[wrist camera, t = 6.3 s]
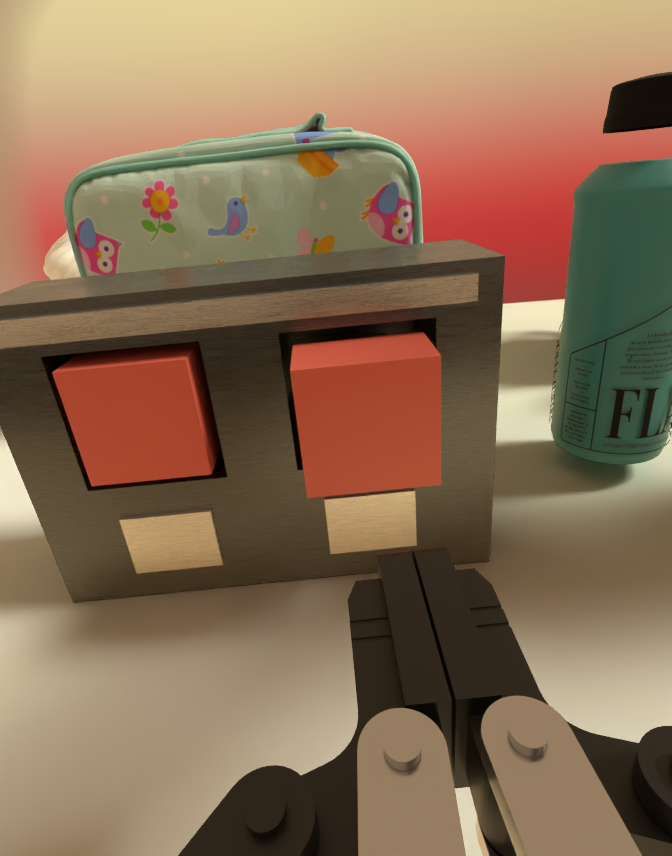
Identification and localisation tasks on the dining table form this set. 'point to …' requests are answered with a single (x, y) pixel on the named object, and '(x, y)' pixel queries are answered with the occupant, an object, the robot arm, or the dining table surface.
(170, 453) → the rocker outlet
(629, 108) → the beverage bottle
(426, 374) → the rocker outlet
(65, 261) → the soft serve ice cream cone
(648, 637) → the dining table surface
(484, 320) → the dark grey switch housing
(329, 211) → the lunch box
